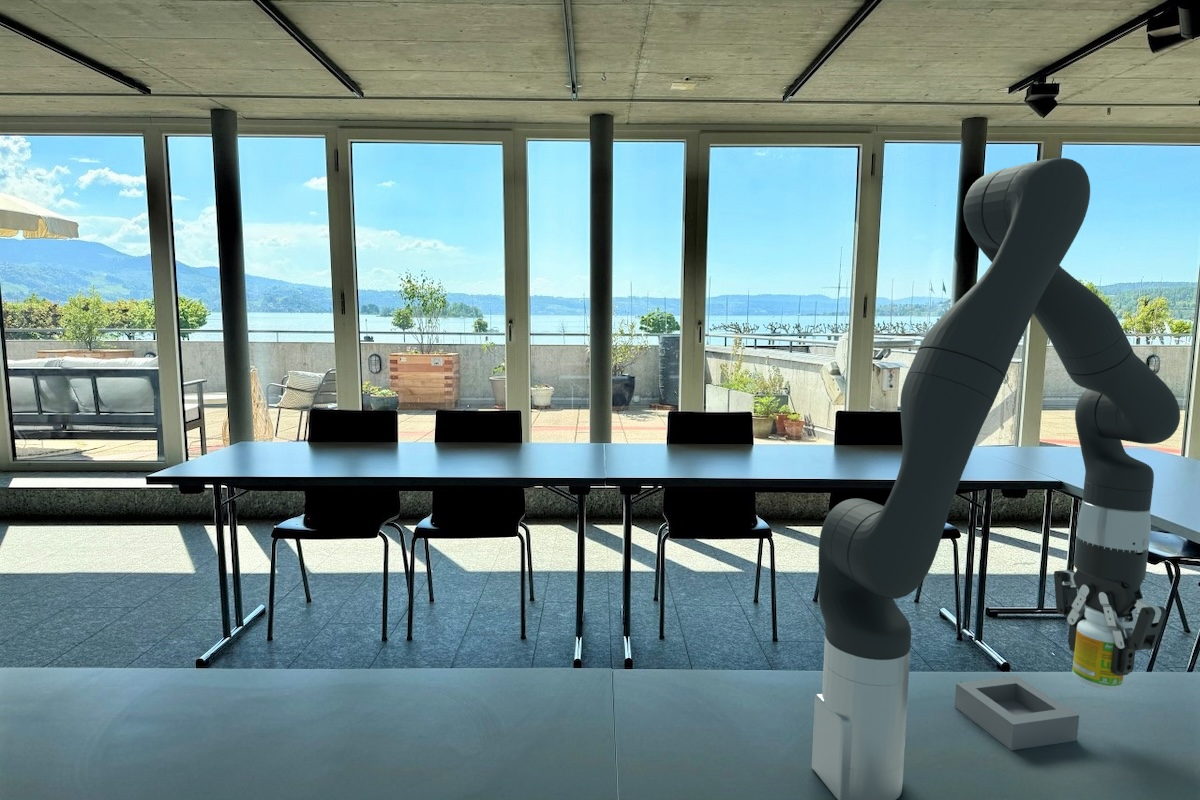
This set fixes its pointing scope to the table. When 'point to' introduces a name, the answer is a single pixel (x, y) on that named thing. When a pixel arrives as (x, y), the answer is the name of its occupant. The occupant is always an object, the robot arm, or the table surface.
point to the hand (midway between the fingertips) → (1098, 662)
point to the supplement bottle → (1095, 651)
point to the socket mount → (1016, 712)
